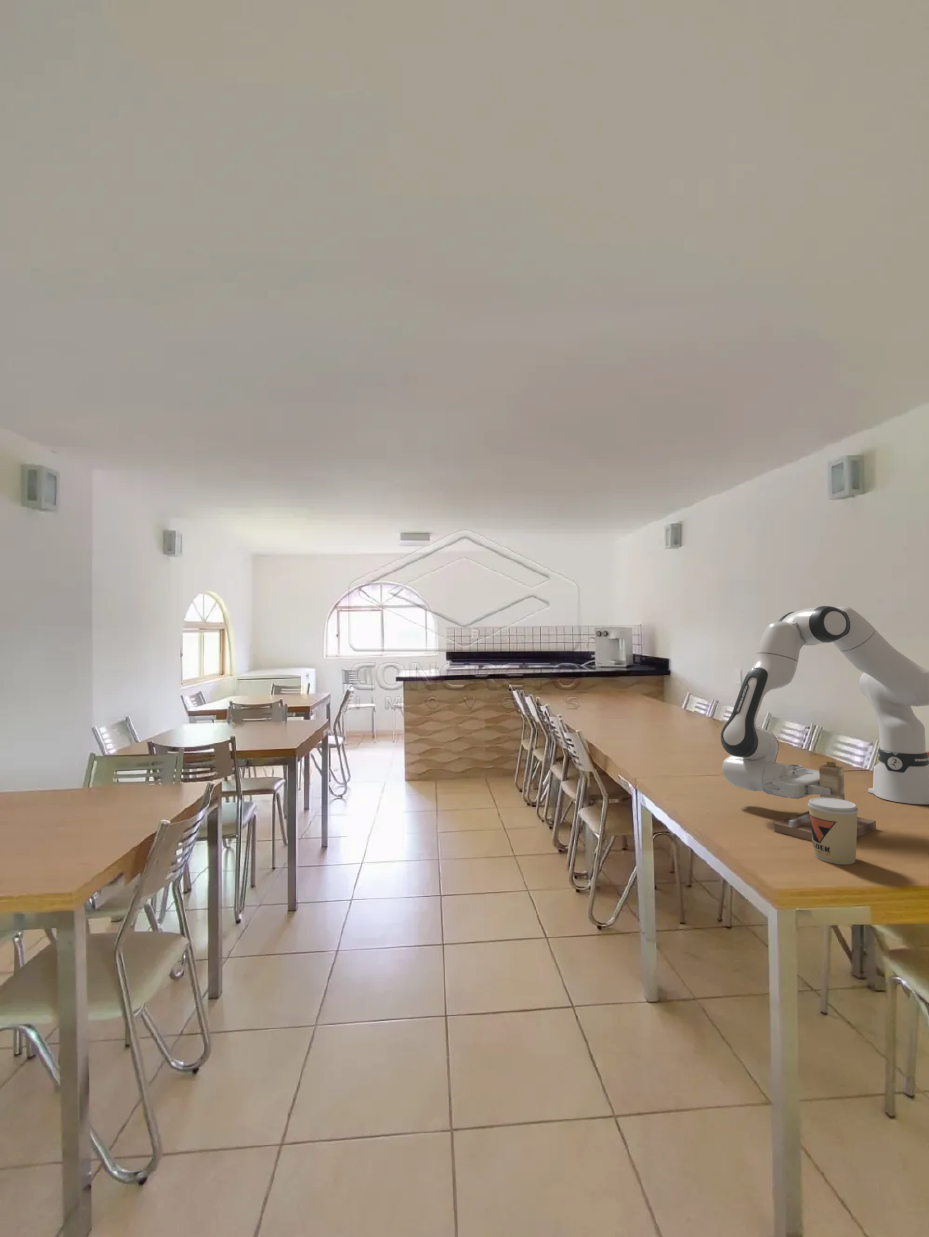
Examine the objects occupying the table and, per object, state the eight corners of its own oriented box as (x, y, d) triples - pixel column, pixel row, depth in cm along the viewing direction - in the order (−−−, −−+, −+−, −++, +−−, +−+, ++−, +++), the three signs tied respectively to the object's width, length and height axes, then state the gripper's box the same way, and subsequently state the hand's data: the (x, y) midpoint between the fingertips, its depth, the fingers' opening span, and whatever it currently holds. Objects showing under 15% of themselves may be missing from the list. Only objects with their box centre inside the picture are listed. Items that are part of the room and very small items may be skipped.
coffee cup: (800, 851, 132) (798, 797, 133) (839, 849, 133) (837, 796, 133) (828, 866, 123) (826, 809, 123) (870, 865, 124) (868, 807, 124)
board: (817, 815, 158) (816, 802, 158) (876, 828, 147) (875, 814, 147) (774, 831, 146) (773, 817, 146) (834, 847, 134) (834, 831, 135)
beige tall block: (828, 814, 152) (826, 760, 152) (848, 818, 148) (846, 763, 148) (821, 817, 149) (819, 762, 150) (841, 821, 145) (839, 765, 146)
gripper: (760, 773, 154) (815, 783, 143) (799, 763, 166) (853, 772, 154) (761, 797, 154) (816, 809, 142) (800, 786, 165) (854, 796, 154)
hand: (836, 790), depth 148 cm, fingers closed on beige tall block, 4 cm apart
